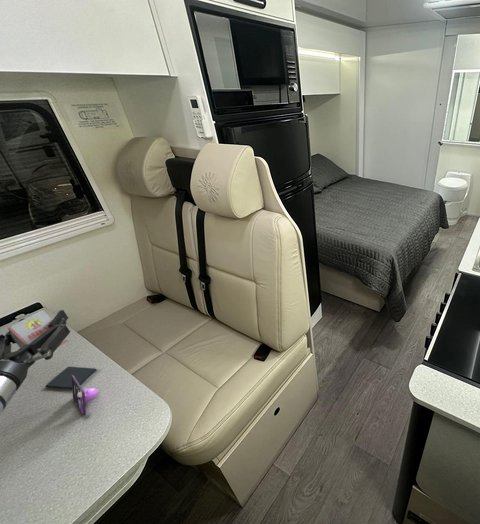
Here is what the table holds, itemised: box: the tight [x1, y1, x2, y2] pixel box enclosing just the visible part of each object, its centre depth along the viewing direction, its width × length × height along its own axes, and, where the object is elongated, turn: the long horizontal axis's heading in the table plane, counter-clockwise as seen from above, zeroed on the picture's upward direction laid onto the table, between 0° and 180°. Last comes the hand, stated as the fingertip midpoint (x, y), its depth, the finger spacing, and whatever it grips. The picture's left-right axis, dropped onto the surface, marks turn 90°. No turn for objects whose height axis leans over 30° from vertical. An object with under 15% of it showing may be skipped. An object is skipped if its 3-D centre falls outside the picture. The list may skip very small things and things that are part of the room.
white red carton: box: [7, 309, 69, 349], centre depth 71 cm, size 4×7×10 cm, turn 163°
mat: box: [45, 366, 98, 390], centre depth 79 cm, size 9×6×1 cm
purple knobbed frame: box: [71, 375, 100, 417], centre depth 72 cm, size 7×5×9 cm
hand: (45, 318), depth 74 cm, fingers closed on white red carton, 7 cm apart
